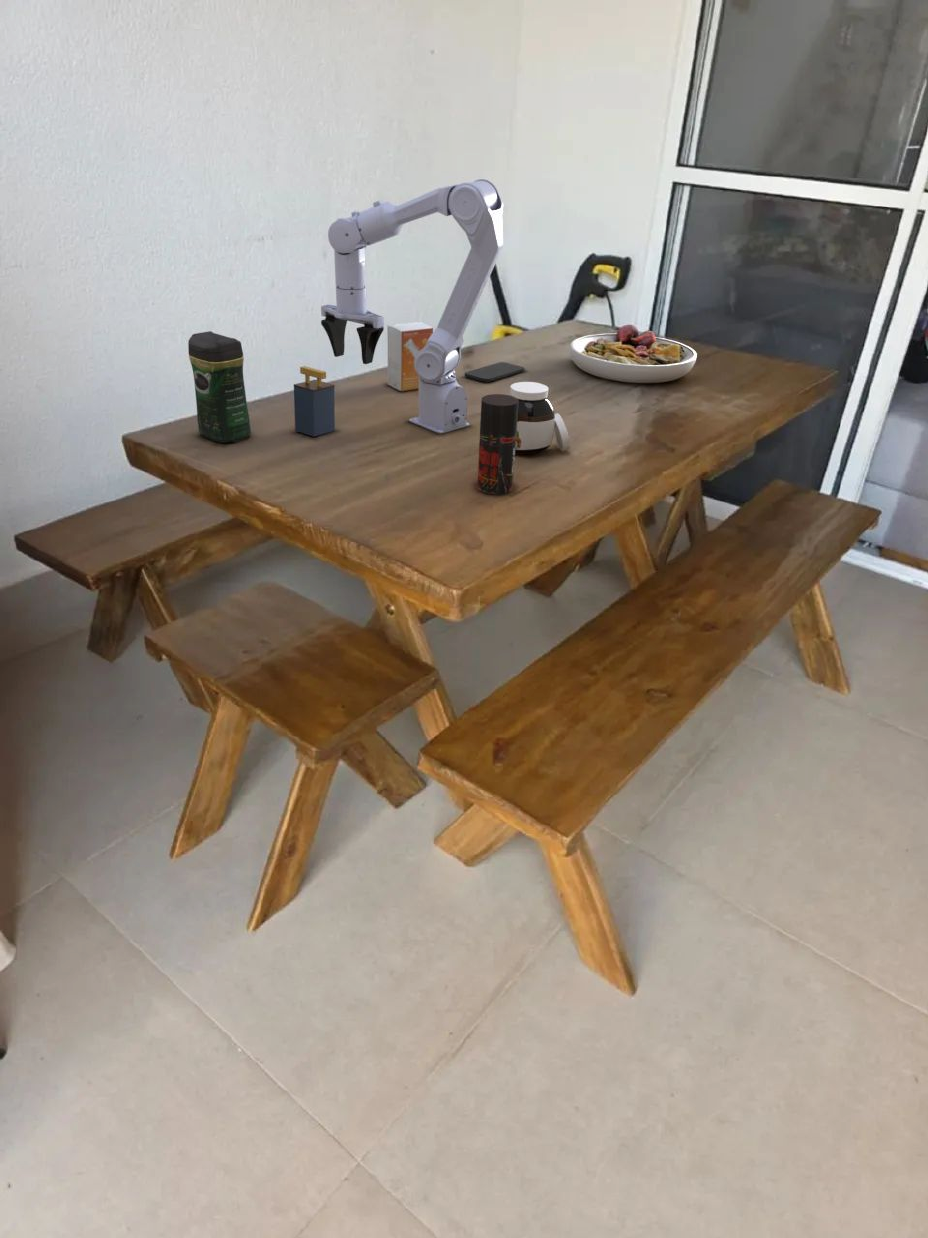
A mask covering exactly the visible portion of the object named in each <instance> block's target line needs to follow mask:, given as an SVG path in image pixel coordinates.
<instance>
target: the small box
mask: <svg viewBox="0 0 928 1238" xmlns="http://www.w3.org/2000/svg"><path fill="white" fill-rule="evenodd" d="M386 326H387V328H386V329H387V330H386V331H387V334H386V335H387V385H388V386H390V387H392V388H393V389H396V390H397V391H400V392H406V391H413V390H419V376H418V375H417V373H416V371H415V368H414V359H415V356H416V354H417V353H418V352H419V351H420V350H422V349H423V348H424V347H425V345H426V343H427V341H428V339H429V338H430V336H431V335H432V334H433V332H434V327H432V326H430V325H428V324H425V323H423V322H421V321H415V322H414V321H413V322H402V323H401V322H400V323H396V324H387V325H386Z"/></svg>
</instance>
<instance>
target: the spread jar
mask: <svg viewBox="0 0 928 1238" xmlns="http://www.w3.org/2000/svg"><path fill="white" fill-rule="evenodd" d="M509 388H510V390H509V395H510V396H513V397H516V398H517V399H518V400H519V404H518V418H517V432H516V446H515V455H517V456H524V457H525V456H526V457H532V456H537V455H540V454H541V453H543V452H545V451H546V450H547V449H549V448H550V447H551V445H552V443H553V439H554V440H555V443H556V445H557V447H558V448H559V450H560V451H561V452H564V451H566V450H570V447H571V441H570V437H569V433H568V429H567V427H566V424H565V422H564V419H563V418H562V416H561V415H560V414H559V413H555V409H554V406H553V405H552V403H551V401H550V400H549V398H548V396H549V387H548V386H547V385H545V384H543V383H540V382H534V381H518V382H514V383H512V384H511V385H510V387H509Z"/></svg>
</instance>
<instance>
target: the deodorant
mask: <svg viewBox="0 0 928 1238" xmlns="http://www.w3.org/2000/svg"><path fill="white" fill-rule="evenodd" d="M480 401H481V405H480V422H479V444H478V464H477V465H478V467H477V483H476V485H477V487H476V488H477V490H478V491H479V492H481V493H484V494H487V495H493V496H499V495H500V496H502V495H507V494H509V493H511V492H512V491H513V488H514V486H513V485H514V475H515V474H514V473H515V459H516V458H515V457H516V454H515V446H516V432H517V418H518V404H519V400H518V399H517V398H516V397H513V396H510V394H503V393H493V394H486V395H484V396H482V397H481V400H480Z"/></svg>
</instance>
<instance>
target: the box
mask: <svg viewBox="0 0 928 1238" xmlns="http://www.w3.org/2000/svg"><path fill="white" fill-rule="evenodd" d="M299 371H300V372H299V374H301V375H303V376H304V378H305V379H304V380H305V381H302V382H298V383H293V403H294V404H293V405H294V408H293V409H294V431H295V432H298V433H301V434H305V435H307V436H311V437H317V436H322V435H324V434H329V433H332V432H334V431H336V425H335V424H336V422H335V421H336V420H335V415H336V414H335V413H336V412H335V410H336V409H335V404H336V403H335V402H336V401H335V385H336V384H333V383H329V382H325V381H322V380H325V379H327V371H324V370H321V369H317V368H313V367H310V366H305V365H303V366H300V367H299ZM311 377H312V378H316V379H311V380H310V378H311Z"/></svg>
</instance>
